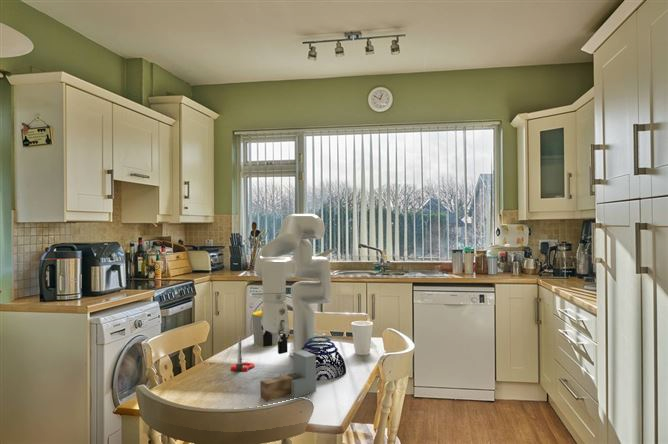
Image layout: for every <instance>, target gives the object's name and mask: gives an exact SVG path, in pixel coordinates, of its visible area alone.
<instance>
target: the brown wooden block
mask: <svg viewBox="0 0 668 444" xmlns="http://www.w3.org/2000/svg"><path fill="white" fill-rule="evenodd" d="M295 379H299V376H298V375H296V374H294V373H290V374H286V375H283V376H280V375H279V376H274V377H271V378H266V379H262V380H260V382H259V383H260V385H259V386H260V387H259V388H260V389H259V390H260V399H262V400H263V401H265V402H269V401H270V402H271V401H273V400H277V399H281V398H285V397H288V396H291V380H295Z"/></svg>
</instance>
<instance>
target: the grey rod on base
mask: <svg viewBox="0 0 668 444" xmlns="http://www.w3.org/2000/svg"><path fill="white" fill-rule="evenodd" d="M237 344H238V345H237V353H238V354H237V363H233V364H232V366H231V367H230V371H239V372H242V371H243V372H249V370H251V369H253V368H255V363H252V362H243V357H242V336H238V343H237Z"/></svg>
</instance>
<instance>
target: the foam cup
mask: <svg viewBox="0 0 668 444" xmlns="http://www.w3.org/2000/svg"><path fill="white" fill-rule="evenodd" d="M350 328H351V333H352V334H351V335H352V340H353V346H354V347H353V348H354V354H355V355H359V356H366V355H367V356H368V355H369V354H370V350H371V346H372V345H371V344H372V334H373V329H374V323H373V322H372V321H368V320H357V321H356V320H355V321H352V322H351V324H350Z"/></svg>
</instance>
